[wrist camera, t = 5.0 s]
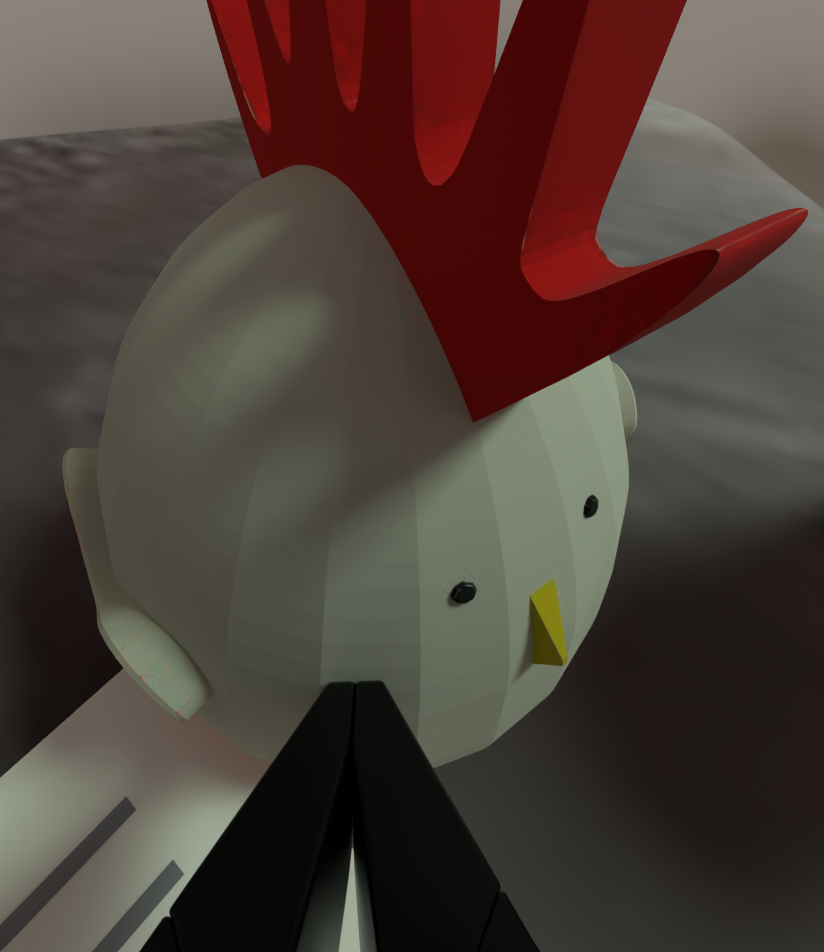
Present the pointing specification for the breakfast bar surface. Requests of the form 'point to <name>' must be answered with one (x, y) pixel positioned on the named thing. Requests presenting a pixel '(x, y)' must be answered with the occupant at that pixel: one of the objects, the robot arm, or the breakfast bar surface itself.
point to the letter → (117, 824)
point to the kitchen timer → (390, 372)
